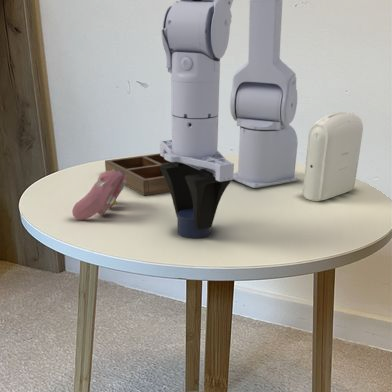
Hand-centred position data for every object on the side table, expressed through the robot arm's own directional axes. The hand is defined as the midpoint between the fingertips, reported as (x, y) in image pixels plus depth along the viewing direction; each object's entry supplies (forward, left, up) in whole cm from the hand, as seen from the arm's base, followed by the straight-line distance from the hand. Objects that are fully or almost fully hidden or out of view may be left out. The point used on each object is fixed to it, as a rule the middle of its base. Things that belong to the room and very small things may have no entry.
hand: (193, 222), depth 80 cm
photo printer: (-28, -4, -2) cm, 28 cm away
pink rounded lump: (+7, -14, -2) cm, 16 cm away
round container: (0, 0, -1) cm, 1 cm away
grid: (-9, -25, -1) cm, 27 cm away
